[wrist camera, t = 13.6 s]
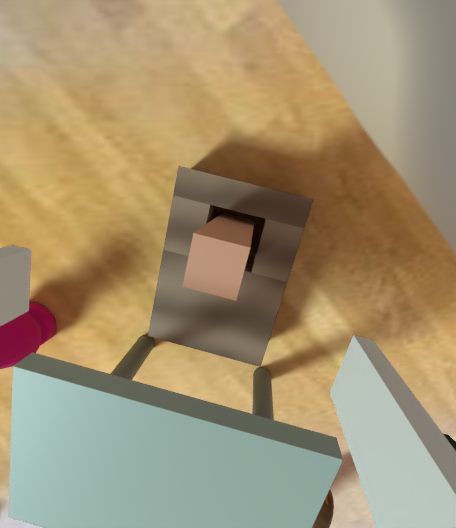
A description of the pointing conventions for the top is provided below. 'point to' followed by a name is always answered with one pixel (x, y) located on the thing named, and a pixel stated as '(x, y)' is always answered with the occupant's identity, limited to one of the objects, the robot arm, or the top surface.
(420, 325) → the top surface
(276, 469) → the miniature side table
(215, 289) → the peg
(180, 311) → the socket block
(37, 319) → the pepper mill
